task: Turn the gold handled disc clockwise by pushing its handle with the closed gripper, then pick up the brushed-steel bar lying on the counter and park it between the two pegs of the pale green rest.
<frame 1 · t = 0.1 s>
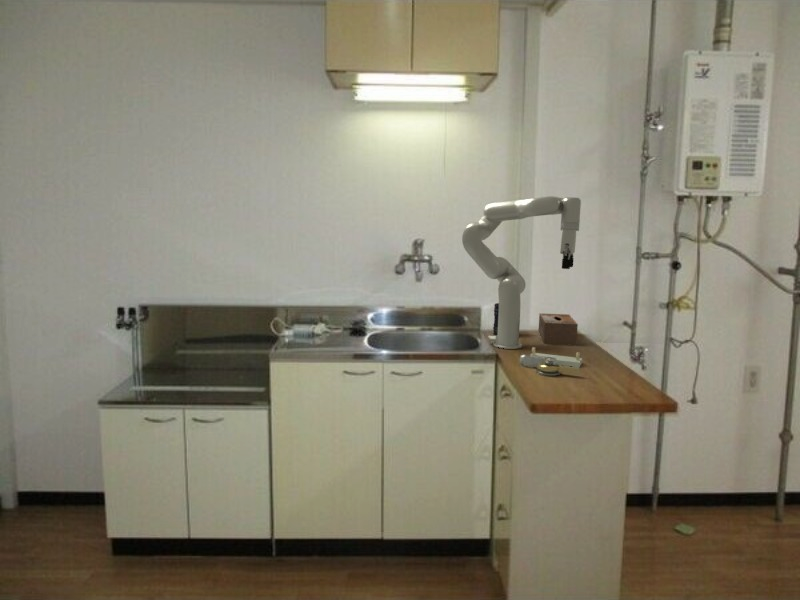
hand: (567, 267, 260), 37 cm above the counter, tool pointing down, fingers open, 9 cm apart
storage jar: (503, 335, 300), on the counter
tissue box cover: (556, 339, 294), on the counter
peg rest: (554, 362, 248), on the counter
gold handled disc: (558, 367, 229), point 3 cm above the counter, hinge at 0.0°
round gray base: (548, 373, 231), on the counter
steel bar: (537, 366, 240), on the counter
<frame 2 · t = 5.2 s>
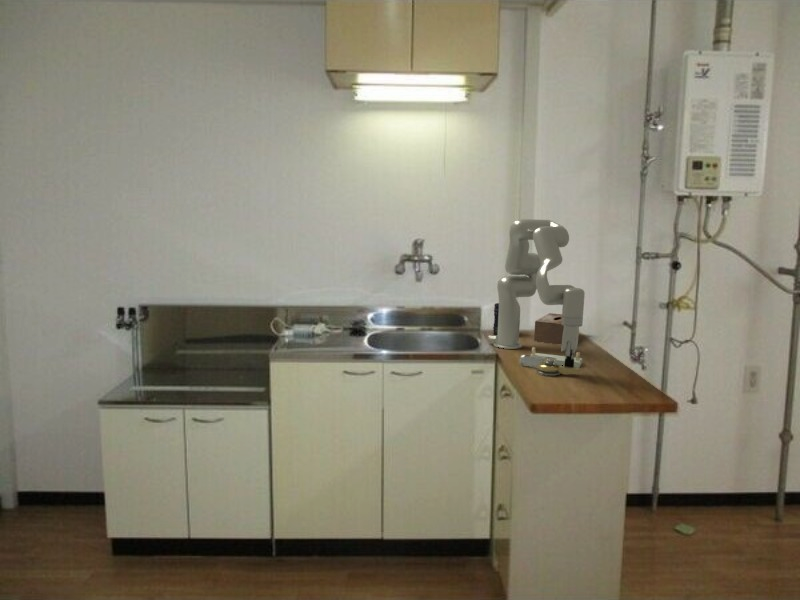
hand: (568, 369, 231), 2 cm above the counter, tool pointing down, fingers closed
gold handled disc: (558, 367, 229), point 3 cm above the counter, hinge at 0.9°, touching gripper
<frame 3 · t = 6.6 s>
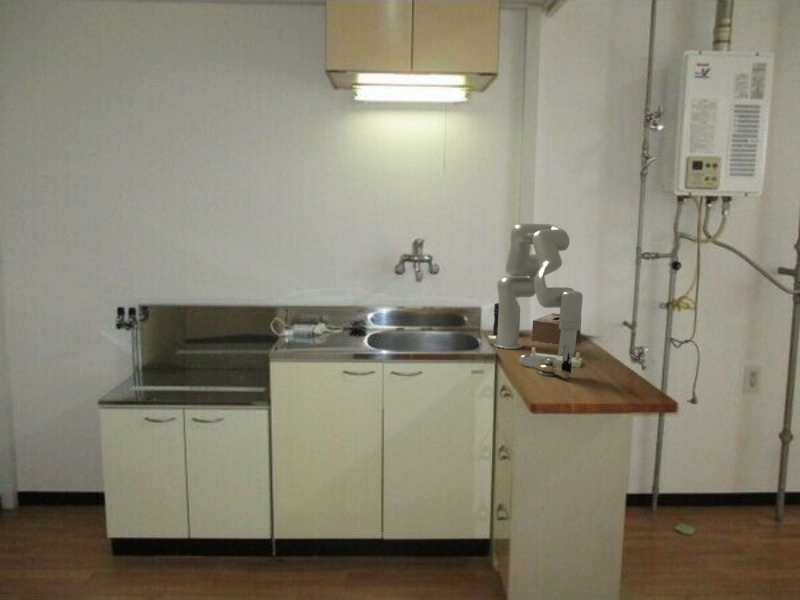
hand: (566, 373, 226), 1 cm above the counter, tool pointing down, fingers closed
gold handled disc: (554, 368, 228), point 3 cm above the counter, hinge at 44.7°, touching gripper
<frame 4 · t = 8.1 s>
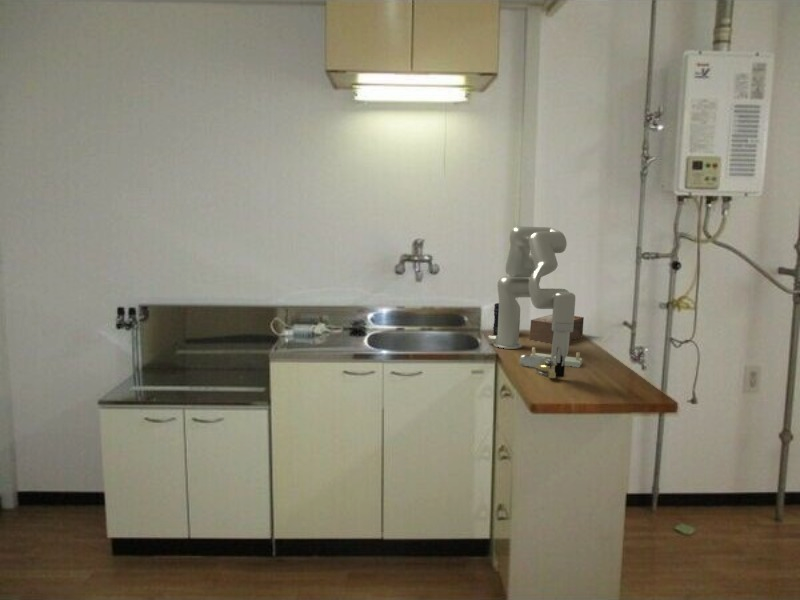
hand: (559, 375, 223), 1 cm above the counter, tool pointing down, fingers closed
gold handled disc: (550, 368, 227), point 3 cm above the counter, hinge at 73.3°, touching gripper
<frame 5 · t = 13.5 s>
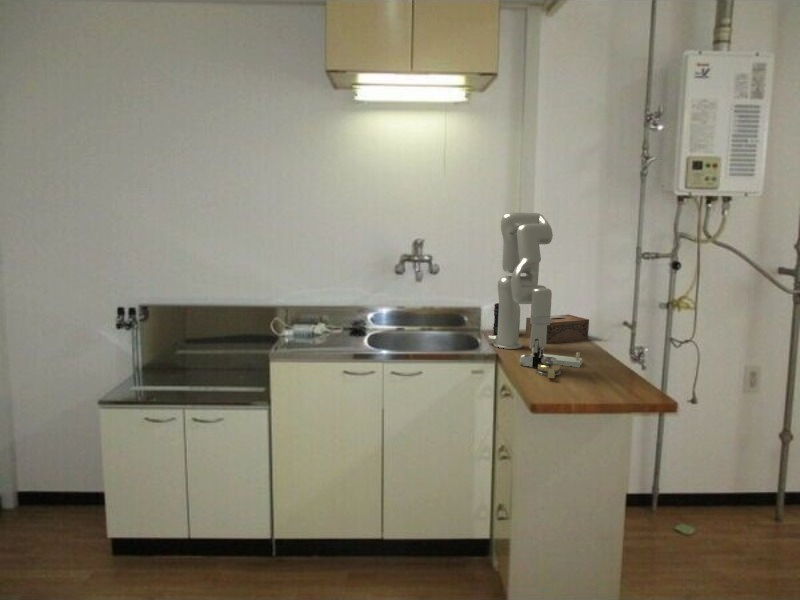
hand: (537, 365, 240), 1 cm above the counter, tool pointing down, fingers closed on steel bar, 4 cm apart
gold handled disc: (549, 368, 227), point 3 cm above the counter, hinge at 75.5°
steel bar: (537, 366, 240), on the counter, touching gripper
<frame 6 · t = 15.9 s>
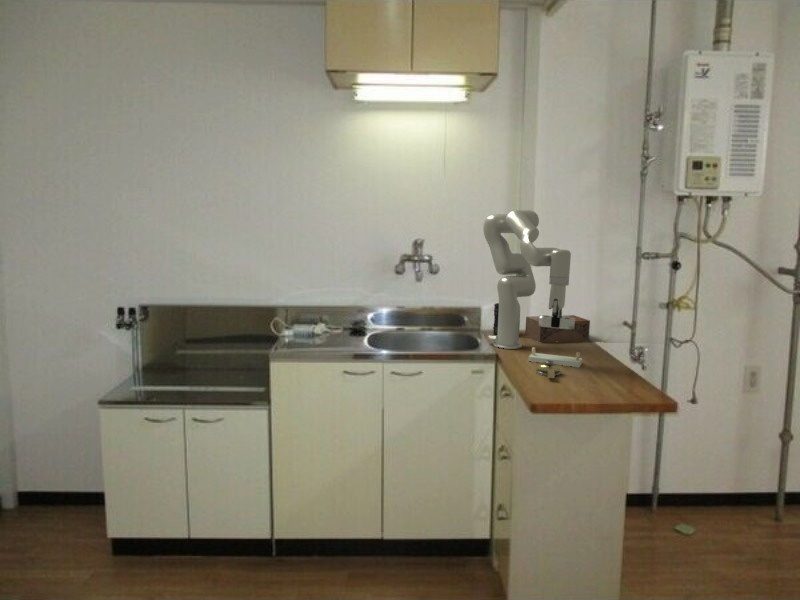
hand: (556, 325, 245), 15 cm above the counter, tool pointing down, fingers closed on steel bar, 4 cm apart
steel bar: (556, 327, 245), point 14 cm above the counter, touching gripper
when the fingers open (3 cm above the counter, at t = 18.5 s): steel bar stays where it is, resting on peg rest.
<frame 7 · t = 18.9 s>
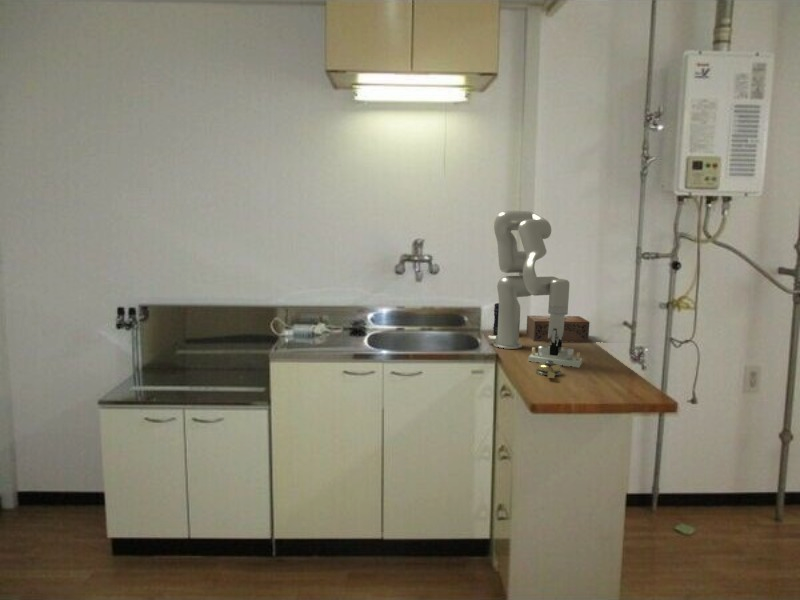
hand: (555, 352, 247), 4 cm above the counter, tool pointing down, fingers open, 8 cm apart
steel bar: (555, 357, 248), point 2 cm above the counter, touching peg rest
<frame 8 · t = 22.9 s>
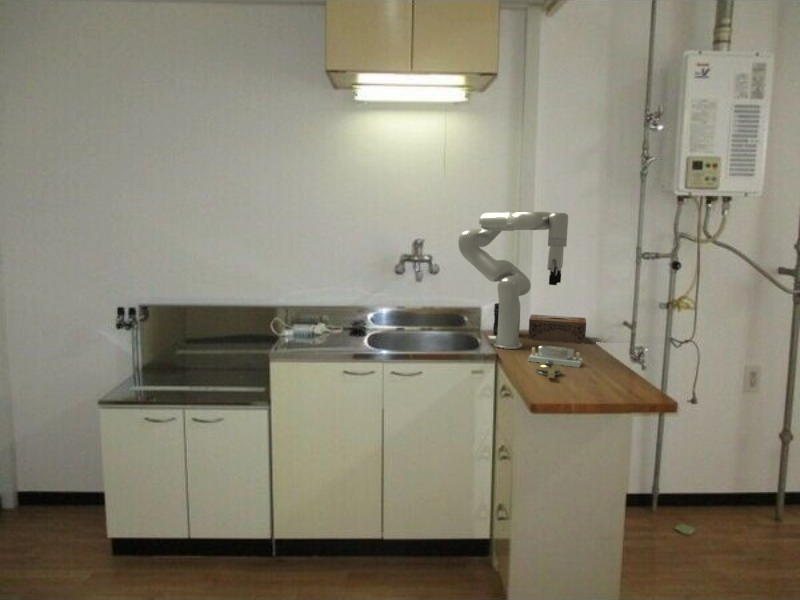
hand: (554, 283, 257), 30 cm above the counter, tool pointing down, fingers open, 9 cm apart
at the end: gold handled disc at +76° (first picture: +0°); steel bar inside the target area on the peg rest (0.1 cm from its centre), point 2.0 cm above the peg rest's base; steel bar tilted 0° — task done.
